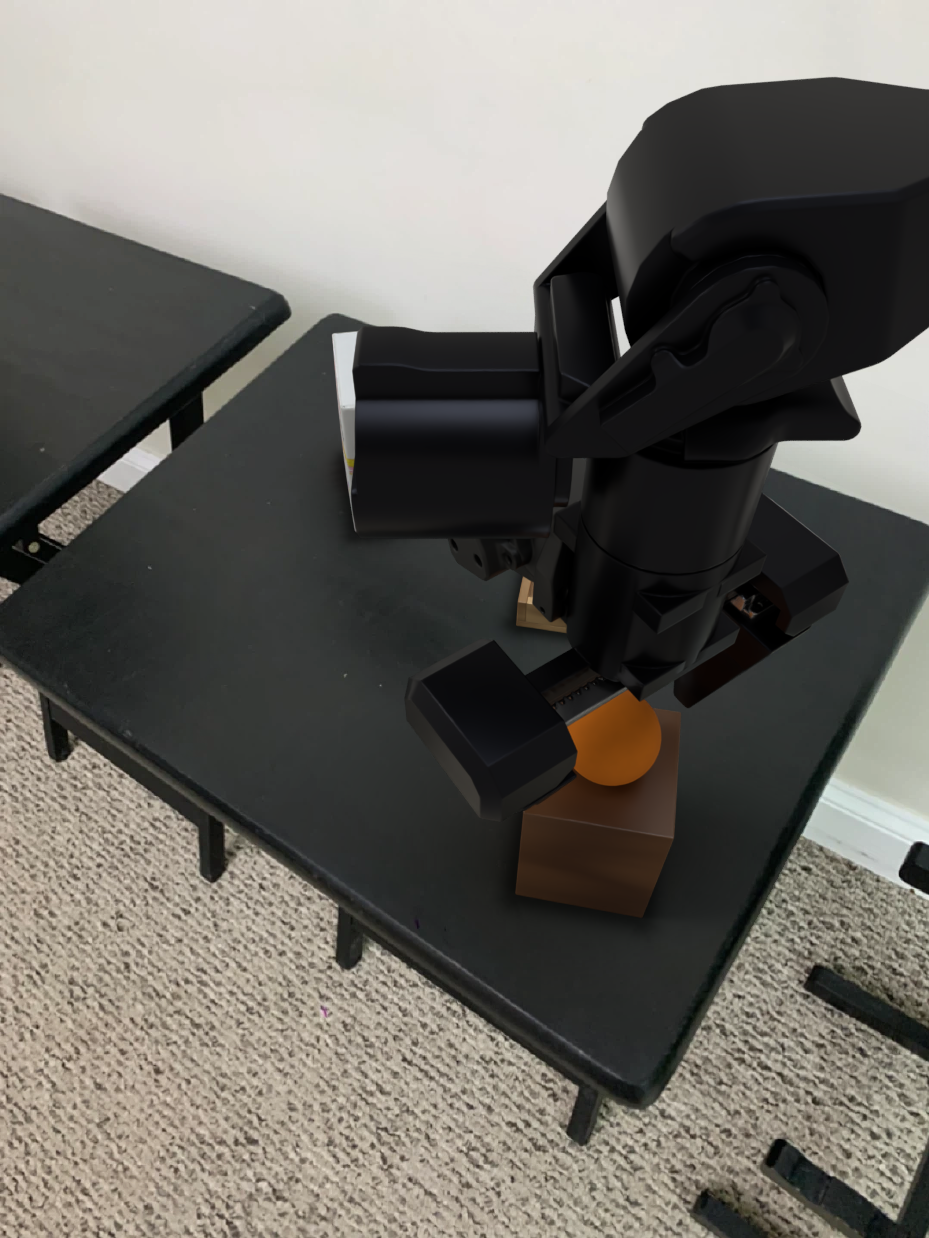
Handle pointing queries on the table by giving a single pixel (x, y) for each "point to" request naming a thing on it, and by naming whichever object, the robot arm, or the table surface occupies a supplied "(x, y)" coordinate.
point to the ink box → (346, 397)
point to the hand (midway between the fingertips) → (610, 746)
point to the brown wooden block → (604, 836)
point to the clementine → (617, 741)
